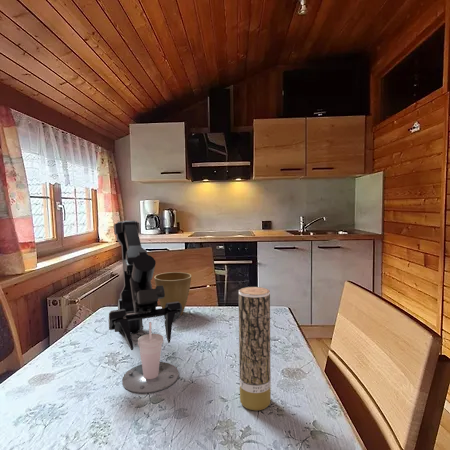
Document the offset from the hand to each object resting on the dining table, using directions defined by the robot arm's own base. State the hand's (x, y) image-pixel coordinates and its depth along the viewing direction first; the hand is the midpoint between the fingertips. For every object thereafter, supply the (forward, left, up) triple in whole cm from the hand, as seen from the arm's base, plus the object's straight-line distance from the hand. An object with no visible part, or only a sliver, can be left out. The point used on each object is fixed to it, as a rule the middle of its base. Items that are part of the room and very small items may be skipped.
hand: (151, 345), depth 78 cm
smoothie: (-1, +1, -8) cm, 9 cm away
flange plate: (-1, +1, -9) cm, 9 cm away
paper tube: (+26, -6, -9) cm, 28 cm away
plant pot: (-10, +48, -9) cm, 50 cm away
